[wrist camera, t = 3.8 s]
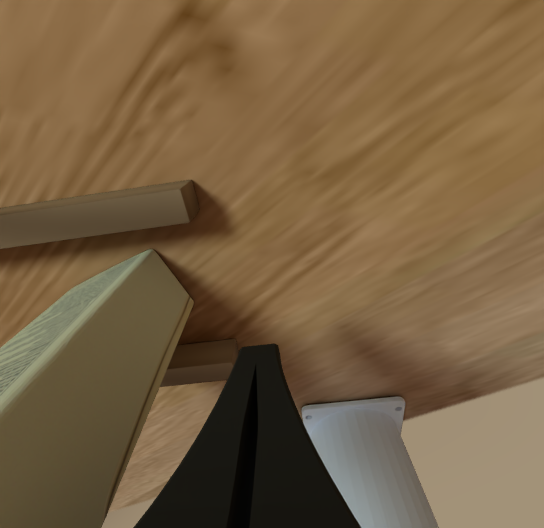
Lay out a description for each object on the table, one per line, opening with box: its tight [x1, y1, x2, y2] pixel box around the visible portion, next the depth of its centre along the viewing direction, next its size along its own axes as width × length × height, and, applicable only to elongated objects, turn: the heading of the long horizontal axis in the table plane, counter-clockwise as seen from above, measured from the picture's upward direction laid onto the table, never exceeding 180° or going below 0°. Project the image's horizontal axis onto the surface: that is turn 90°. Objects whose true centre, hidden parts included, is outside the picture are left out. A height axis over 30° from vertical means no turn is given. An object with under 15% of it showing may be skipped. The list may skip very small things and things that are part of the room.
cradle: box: [0, 180, 239, 387], centre depth 16 cm, size 12×24×2 cm, turn 98°
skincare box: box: [0, 249, 194, 528], centre depth 11 cm, size 6×4×12 cm
